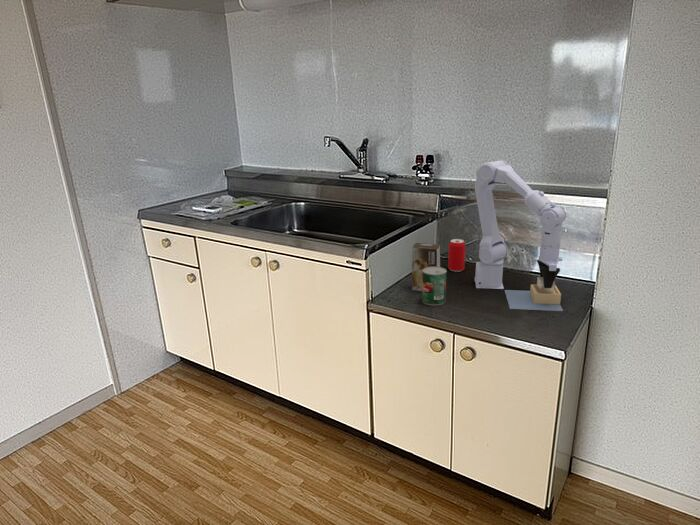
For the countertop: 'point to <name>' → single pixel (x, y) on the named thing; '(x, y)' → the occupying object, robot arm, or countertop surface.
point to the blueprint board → (527, 301)
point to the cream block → (541, 286)
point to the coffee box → (423, 261)
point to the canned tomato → (434, 286)
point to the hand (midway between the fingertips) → (546, 284)
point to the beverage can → (456, 255)
